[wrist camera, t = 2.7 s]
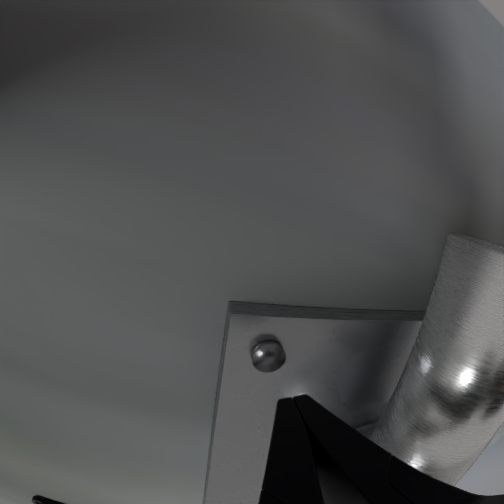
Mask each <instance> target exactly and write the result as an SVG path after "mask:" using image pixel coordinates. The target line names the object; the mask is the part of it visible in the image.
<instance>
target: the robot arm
mask: <svg viewBox="0 0 504 504" xmlns="http://www.w3.org/2000/svg"><path fill="white" fill-rule="evenodd" d="M261 489H262V490H261V492H260V497H259V502H258V504H504V495H494V496H484V495H477V494H473V493H470V492H467V491H464V490H461V489H459V488H457V487H454V486H452V485H449V484H447V483H445V482H442V481H440V480H438V479H435V478H433V477H431V476H429V475H427V474H425V473H423V472H421V471H419V470H417V469H415V468H414V467H412V466H410V465H408V464H407V463H405V462H403V461H402V460H400V459H399V458H397V457H396V456H394V455H393V456H392V454H391V453H389V452H388V451H386V450H385V449H383V448H382V447H380V446H379V445H377V444H376V443H374V442H373V441H371V440H370V439H369V438H367V437H366V436H364V435H363V434H361V433H360V432H358V431H357V430H356V429H354V428H353V427H351V426H350V425H348V424H347V423H346V422H344V421H343V420H341V419H340V418H339V417H337V416H336V415H335V414H333V413H332V412H330V411H329V410H328V409H326V408H325V407H324V406H322V405H321V404H320V403H318V402H317V401H316V400H314V399H313V398H312V397H310V396H309V395H307V394H303V395H298V396H294V397H293V398H291V397H287V398H282V399H278V401H277V406H276V412H275V418H274V424H273V429H272V435H271V441H270V446H269V452H268V457H267V463H266V468H265V473H264V478H263V483H262V488H261ZM32 501H33V503H34V504H58V503H55V502H51V501H48V500H45V499H42V498H40V497H37V496H33V498H32Z"/></svg>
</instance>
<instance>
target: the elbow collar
mask: <svg viewBox="0 0 504 504" xmlns="http://www.w3.org/2000/svg"><path fill="white" fill-rule="evenodd" d="M503 422H504V247H502V246H499V245H496V244H493V243H490V242H487V241H484V240H480V239H477V238H473V237H469V236H465V235H460V234H455V233H448V237H447V241H446V246H445V250H444V253H443V257H442V261H441V265H440V268H439V272H438V275H437V279H436V282H435V285H434V289H433V292H432V295H431V298H430V301H429V304H428V307H427V310H426V313H425V316H424V319H423V321H422V324H421V327H420V330H419V332H418V335H417V338H416V340H415V343H414V345H413V348H412V350H411V353H410V355H409V358H408V360H407V363H406V365H405V367H404V370H403V372H402V374H401V376H400V379H399V381H398V383H397V385H396V387H395V390H394V392H393V394H392V396H391V398H390V400H389V402H388V404H387V406H386V408H385V410H384V412H383V414H382V416H381V418H380V420H379V422H375V423H371V424H368V425H365V426H362V427H359V428H356V430H357V431H358V432H360V433H361V434H363V435H364V436H366V437H367V438H369V439H370V440H371V441H373V442H374V443H376V444H377V445H379V446H380V447H382V448H383V449H385V450H386V451H388V452H389V453H391V454H392V456H393V455H394V456H396V457H397V458H399V459H400V460H402V461H403V462H405V463H407V464H408V465H410V466H412V467H414V468H415V469H417V470H419V471H421V472H423V473H425V474H427V475H429V476H431V477H433V478H435V479H438V480H440V481H442V482H445V483H447V484H449V485H452V486H455V485H456V484H457V483H458V482H459V480H460V479H461V478H462V477H463V476H464V475H465V473H466V472H467V471H468V470H469V469H470V467H471V466H472V465H473V464H474V462H475V461H476V460H477V459H478V457H479V456H480V455H481V453H482V452H483V451H484V449H485V448H486V447H487V445H488V444H489V443H490V441H491V440H492V439H493V437H494V436H495V434H496V433H497V431H498V430H499V428H500V427H501V425H502V424H503Z"/></svg>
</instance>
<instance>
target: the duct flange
mask: <svg viewBox="0 0 504 504" xmlns="http://www.w3.org/2000/svg"><path fill="white" fill-rule="evenodd" d="M425 313H426V311H385V310H357V309H335V308H316V307H299V306H284V305H270V304H257V303H245V302H233V301H229V303H228V310H227V318H226V325H225V332H224V340H223V347H222V354H221V362H220V369H219V377H218V385H217V392H216V400H215V408H214V416H213V424H212V432H211V440H210V448H209V457H208V465H207V474H206V482H205V491H204V500H203V504H258V502H259V497H260V492H261V490H262V489H261V488H262V483H263V478H264V473H265V468H266V463H267V457H268V452H269V446H270V441H271V435H272V429H273V424H274V418H275V412H276V406H277V401H278V399H282V398H287V397H291V398H293V397H294V396H298V395H303V394H307V395H309V396H310V397H312V398H313V399H314V400H316V401H317V402H318V403H320V404H321V405H322V406H324V407H325V408H326V409H328V410H329V411H330V412H332V413H333V414H335V415H336V416H337V417H339V418H340V419H341V420H343V421H344V422H346V423H347V424H348V425H350V426H351V427H353V428H354V429H356V428H359V427H362V426H365V425H368V424H371V423H375V422H379V420H380V418H381V416H382V414H383V412H384V410H385V408H386V406H387V404H388V402H389V400H390V398H391V396H392V394H393V392H394V390H395V387H396V385H397V383H398V381H399V379H400V376H401V374H402V372H403V370H404V367H405V365H406V363H407V360H408V358H409V355H410V353H411V350H412V348H413V345H414V343H415V340H416V338H417V335H418V332H419V330H420V327H421V324H422V321H423V319H424V316H425Z"/></svg>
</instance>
